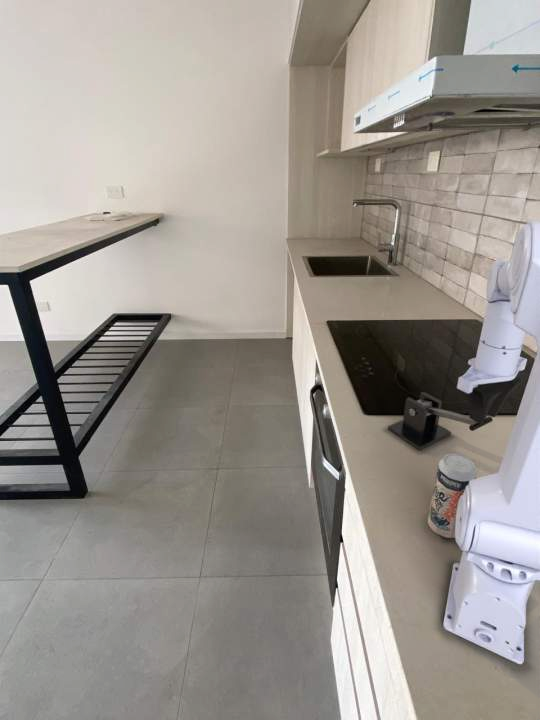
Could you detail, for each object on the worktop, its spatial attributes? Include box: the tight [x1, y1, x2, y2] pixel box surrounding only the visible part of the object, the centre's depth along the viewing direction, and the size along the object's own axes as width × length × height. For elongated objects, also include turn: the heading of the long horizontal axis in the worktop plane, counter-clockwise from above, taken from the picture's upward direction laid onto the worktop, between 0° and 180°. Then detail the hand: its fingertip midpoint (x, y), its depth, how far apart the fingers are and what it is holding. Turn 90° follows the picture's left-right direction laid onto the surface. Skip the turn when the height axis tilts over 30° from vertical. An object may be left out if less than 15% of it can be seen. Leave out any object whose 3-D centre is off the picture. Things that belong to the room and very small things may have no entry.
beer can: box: [427, 453, 478, 539], centre depth 56 cm, size 5×5×12 cm
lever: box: [416, 398, 493, 432], centre depth 72 cm, size 14×5×2 cm, turn 30°
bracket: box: [387, 391, 452, 452], centre depth 78 cm, size 8×9×8 cm
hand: (482, 417), depth 66 cm, fingers open, 3 cm apart
